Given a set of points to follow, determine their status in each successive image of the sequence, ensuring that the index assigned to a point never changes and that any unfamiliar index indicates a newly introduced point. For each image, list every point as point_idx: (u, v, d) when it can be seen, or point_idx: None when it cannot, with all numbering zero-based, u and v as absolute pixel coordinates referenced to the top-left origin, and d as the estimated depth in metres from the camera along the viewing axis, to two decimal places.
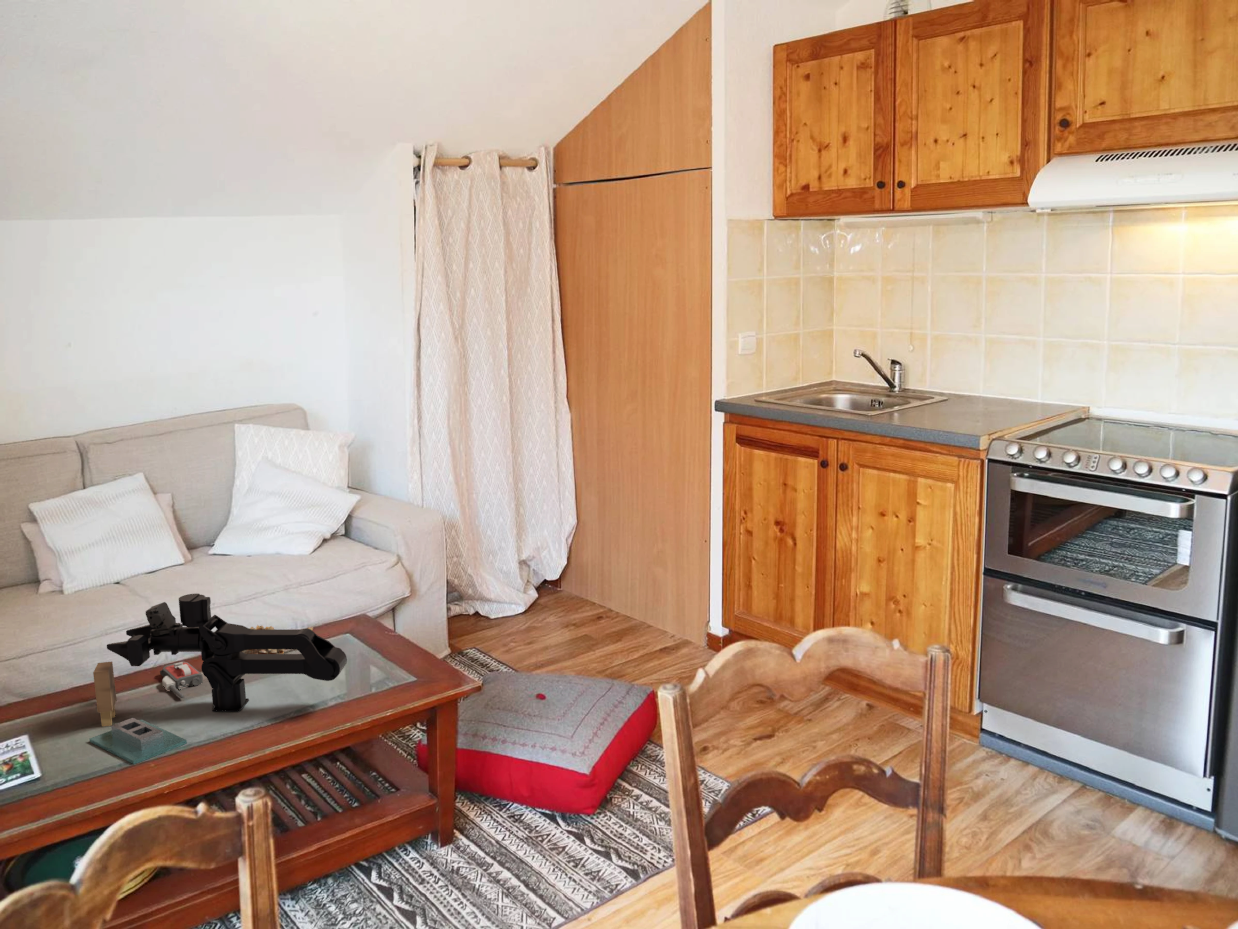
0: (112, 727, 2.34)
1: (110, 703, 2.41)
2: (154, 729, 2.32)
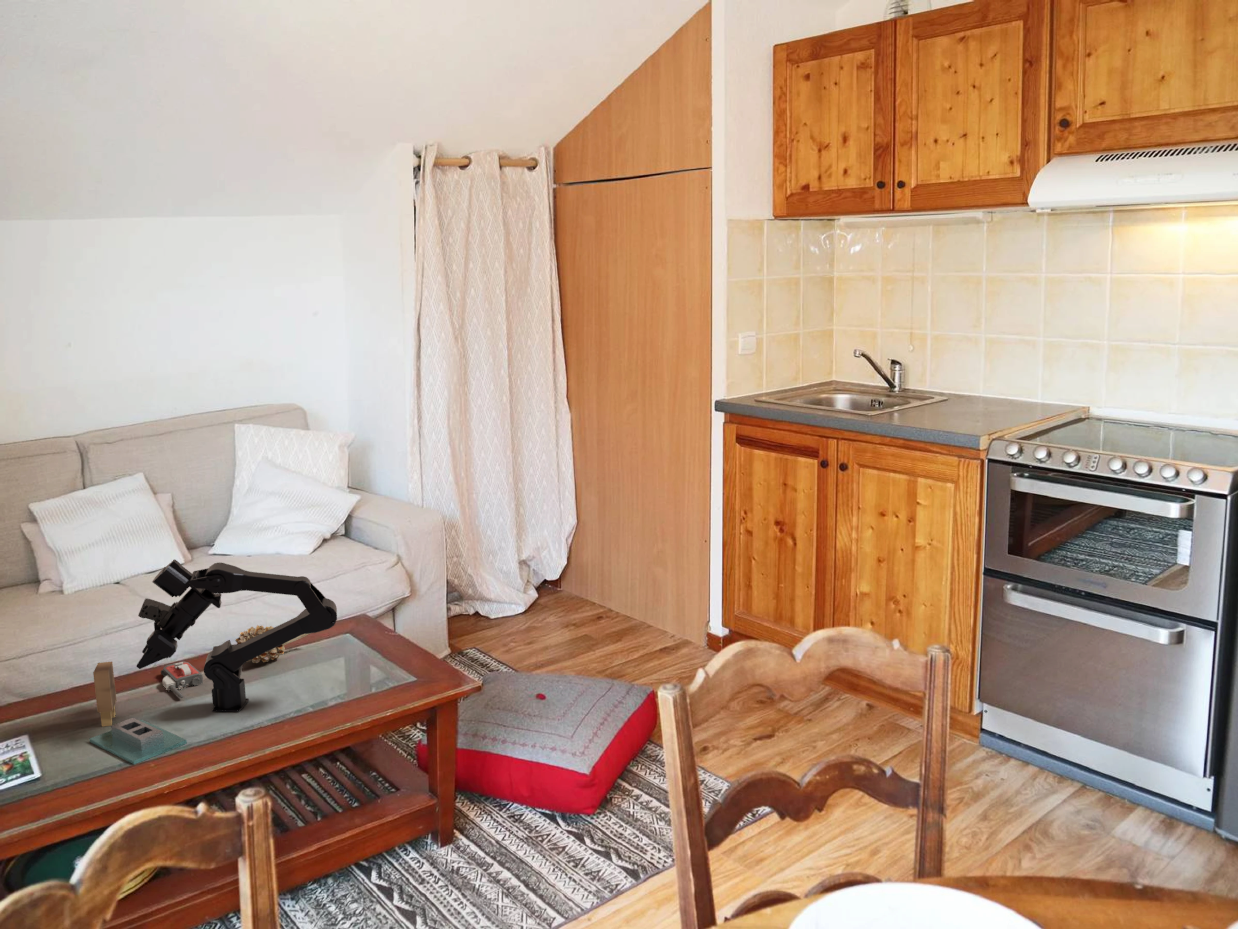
0: (112, 727, 2.34)
1: (110, 703, 2.41)
2: (154, 729, 2.32)
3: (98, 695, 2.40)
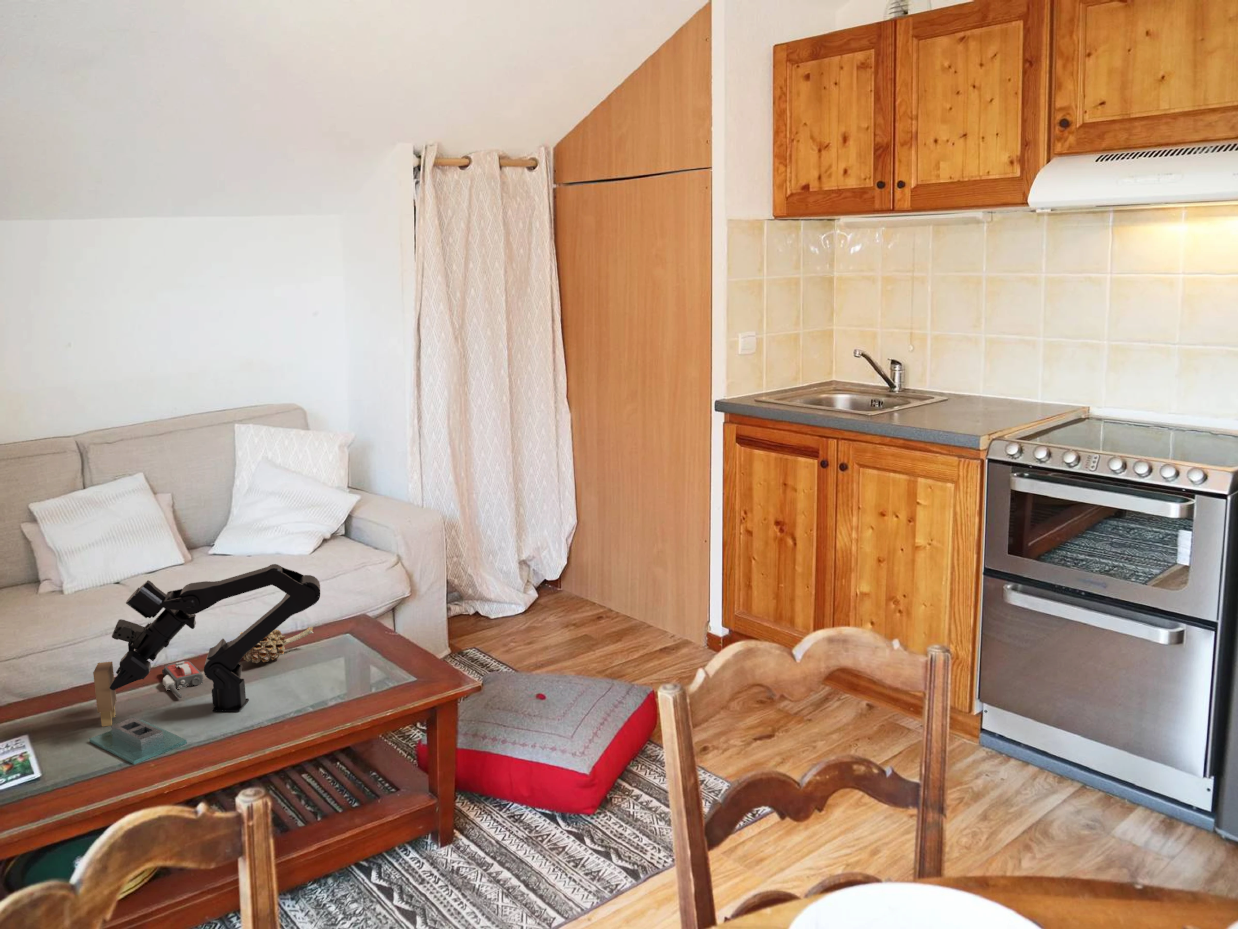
0: (112, 727, 2.34)
1: (110, 703, 2.41)
2: (154, 729, 2.32)
3: (98, 695, 2.40)
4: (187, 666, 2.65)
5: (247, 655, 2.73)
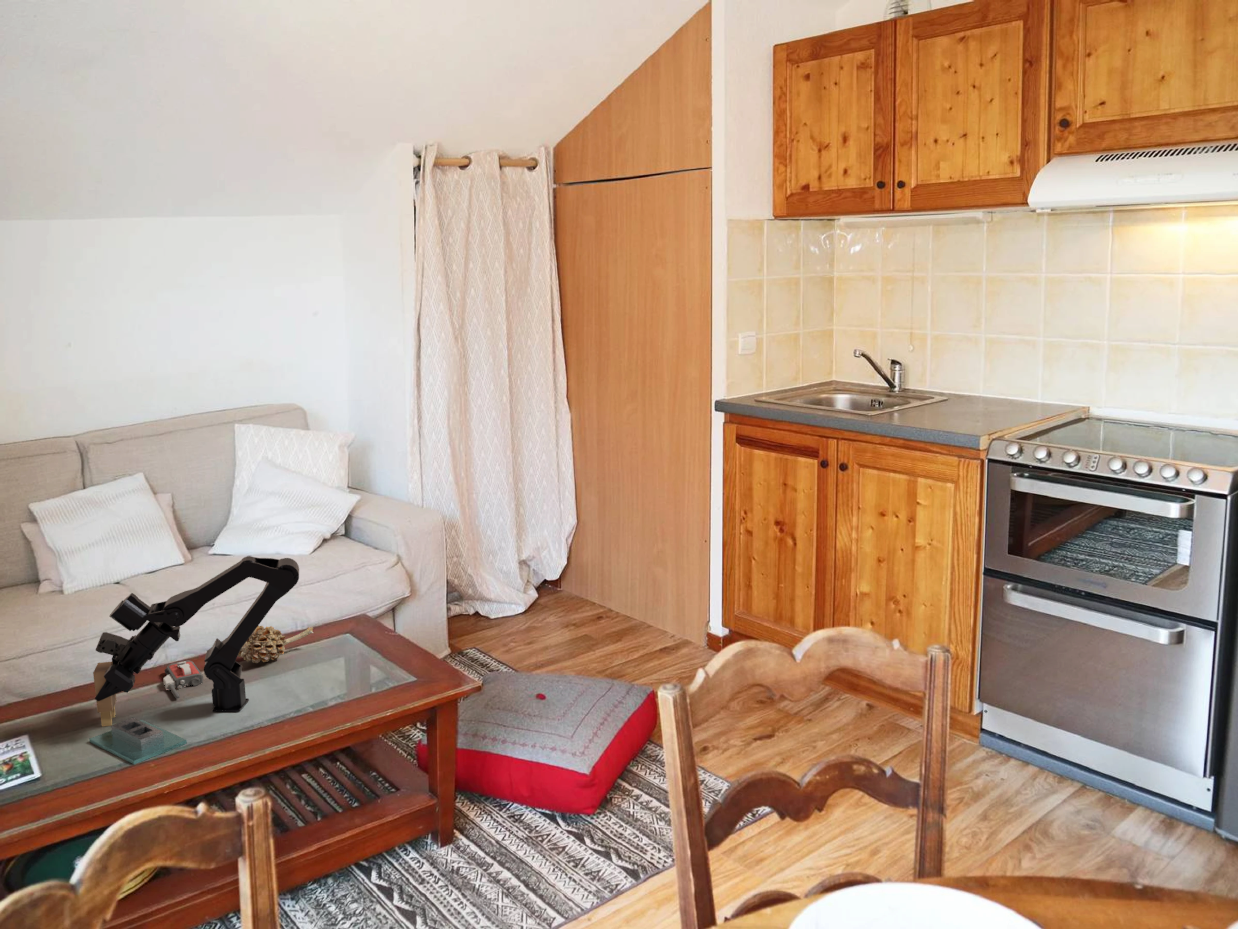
0: (112, 727, 2.34)
1: (110, 703, 2.41)
2: (154, 729, 2.32)
3: None
4: (187, 666, 2.66)
5: (247, 655, 2.73)
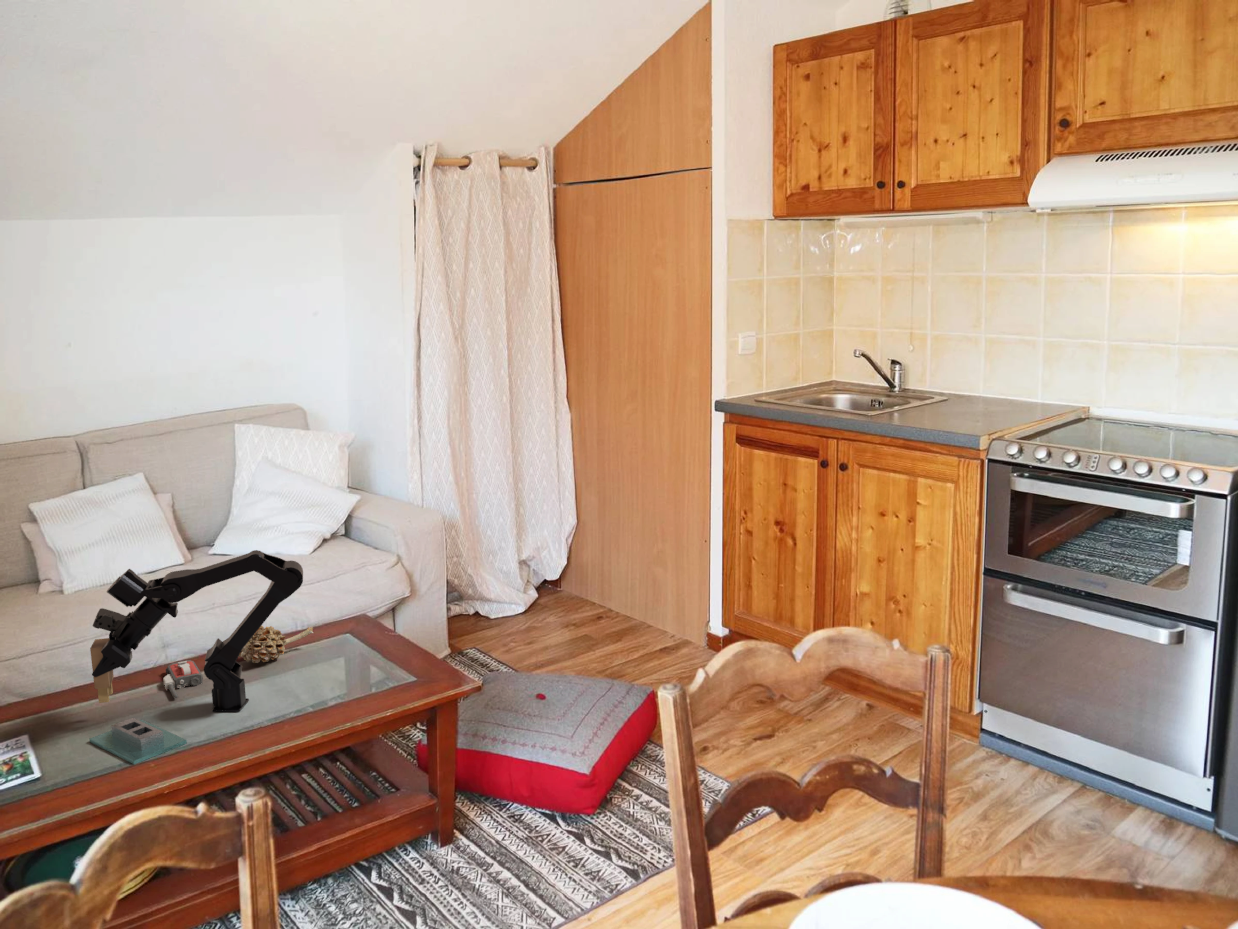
0: (112, 727, 2.34)
1: (107, 679, 2.40)
2: (154, 729, 2.32)
3: None
4: (187, 666, 2.66)
5: (247, 655, 2.73)
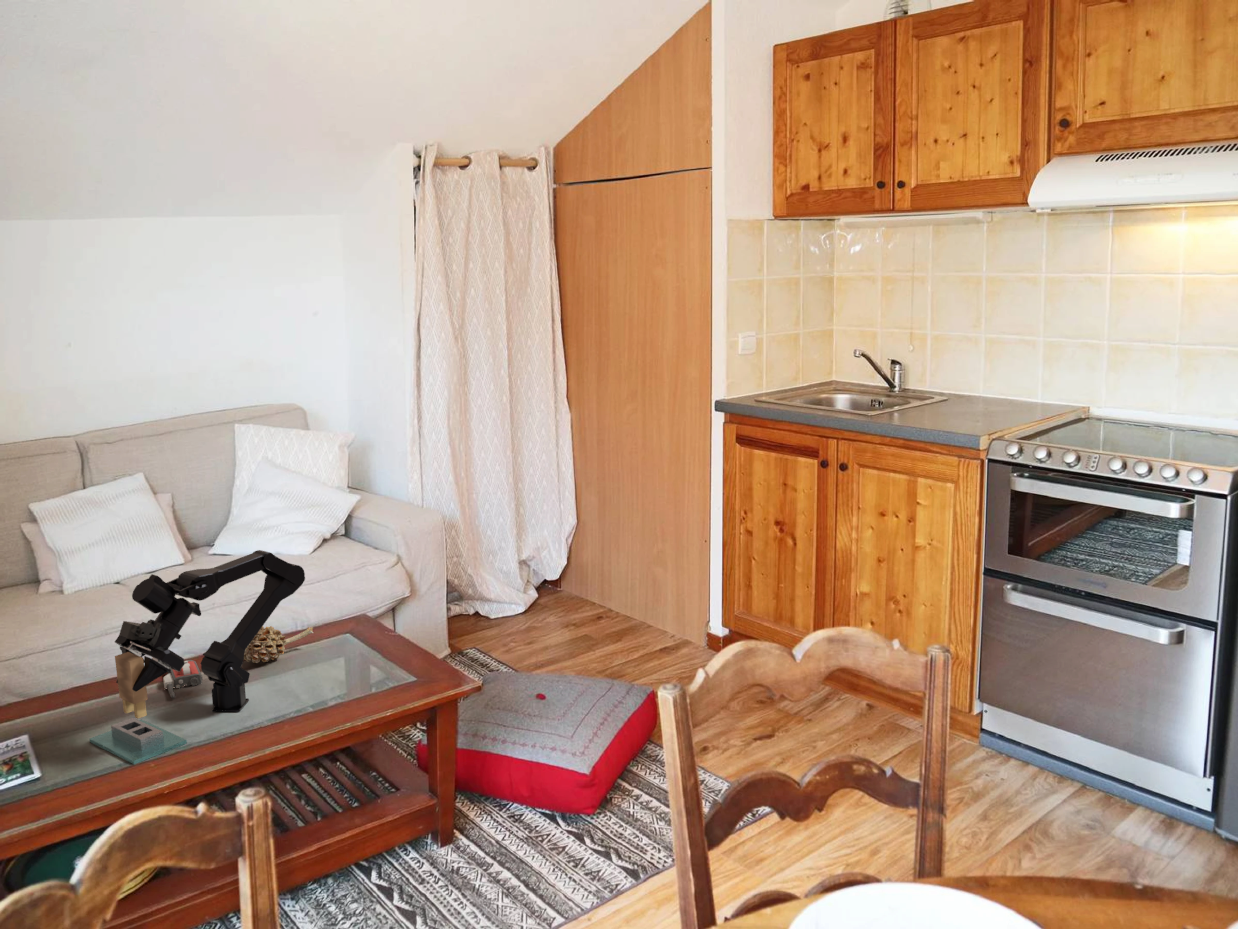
0: (112, 727, 2.34)
1: (145, 692, 2.30)
2: (154, 729, 2.32)
3: None
4: (187, 666, 2.66)
5: (247, 655, 2.73)
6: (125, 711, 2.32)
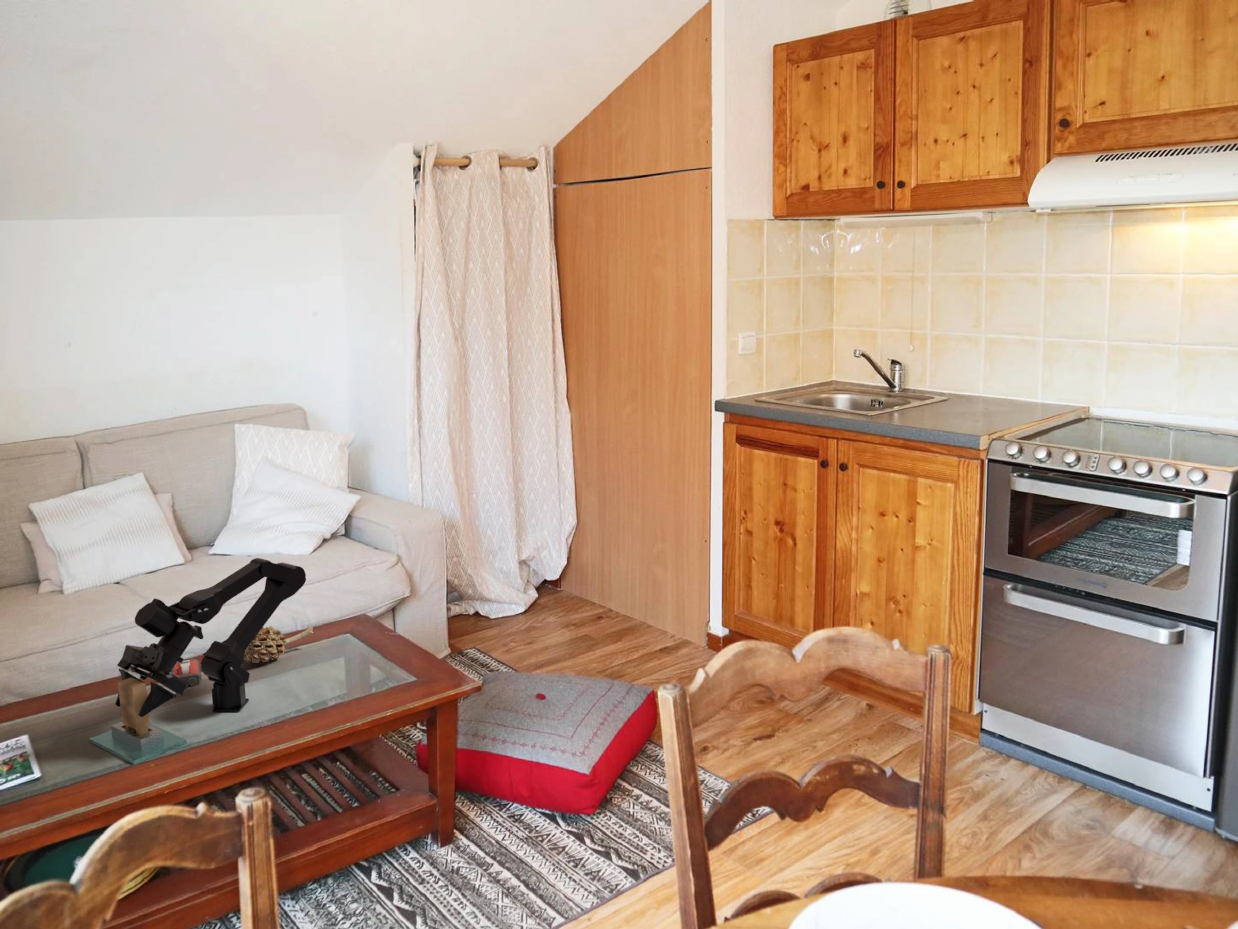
0: (112, 727, 2.34)
1: (148, 717, 2.31)
2: (154, 729, 2.32)
3: (137, 711, 2.29)
4: (187, 665, 2.66)
5: (247, 655, 2.73)
6: None
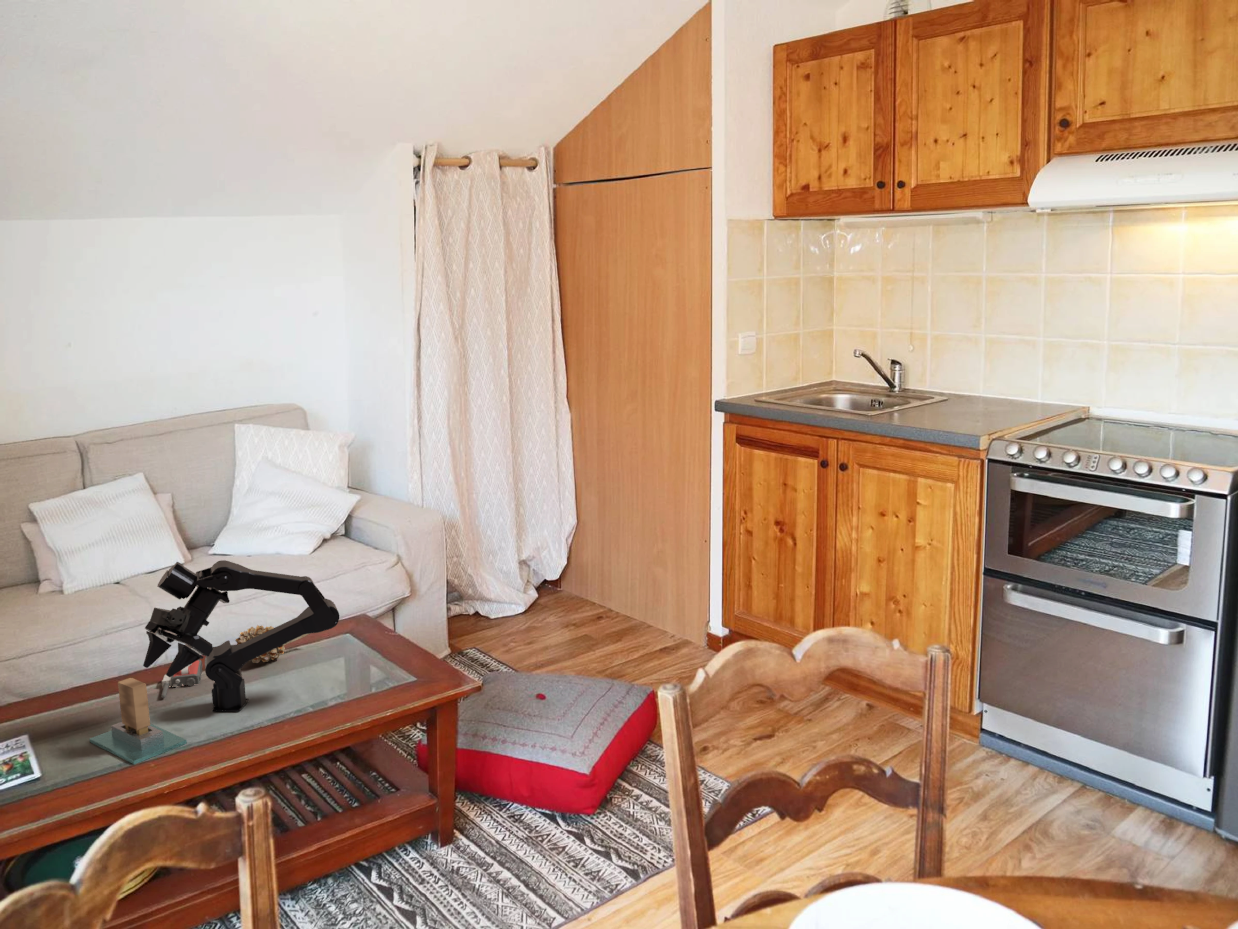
0: (112, 727, 2.34)
1: (148, 717, 2.31)
2: (154, 729, 2.32)
3: (137, 711, 2.29)
4: (187, 666, 2.66)
5: None
6: None
